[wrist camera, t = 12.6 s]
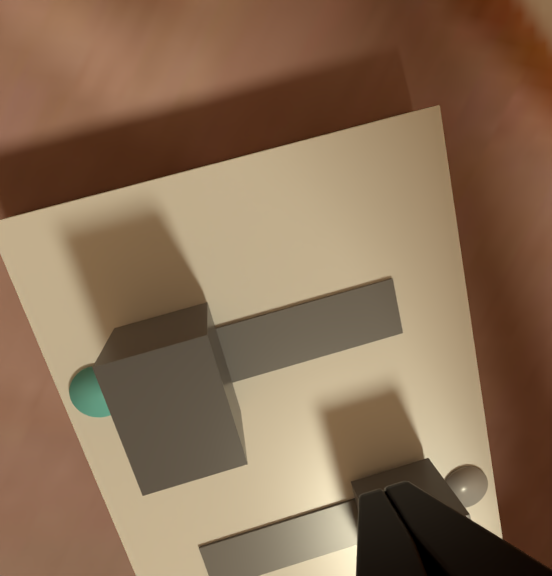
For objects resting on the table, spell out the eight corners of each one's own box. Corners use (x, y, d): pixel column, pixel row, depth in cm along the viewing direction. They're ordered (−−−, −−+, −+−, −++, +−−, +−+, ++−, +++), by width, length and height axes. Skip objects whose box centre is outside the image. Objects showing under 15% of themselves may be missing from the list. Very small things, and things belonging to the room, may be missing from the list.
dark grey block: (207, 302, 15) (207, 334, 13) (241, 411, 17) (247, 464, 14) (114, 328, 15) (92, 367, 12) (154, 436, 16) (142, 496, 13)
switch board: (413, 110, 17) (441, 104, 15) (504, 679, 25) (530, 725, 23) (13, 215, 16) (-15, 224, 14) (238, 770, 24) (240, 826, 22)
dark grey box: (428, 457, 18) (469, 514, 15) (444, 542, 19) (486, 611, 16) (350, 481, 18) (378, 543, 15) (371, 566, 19) (400, 639, 16)
